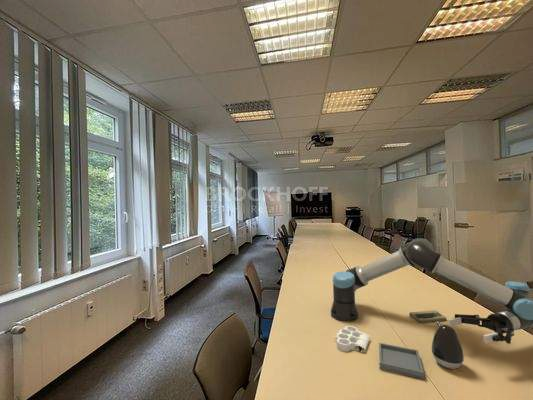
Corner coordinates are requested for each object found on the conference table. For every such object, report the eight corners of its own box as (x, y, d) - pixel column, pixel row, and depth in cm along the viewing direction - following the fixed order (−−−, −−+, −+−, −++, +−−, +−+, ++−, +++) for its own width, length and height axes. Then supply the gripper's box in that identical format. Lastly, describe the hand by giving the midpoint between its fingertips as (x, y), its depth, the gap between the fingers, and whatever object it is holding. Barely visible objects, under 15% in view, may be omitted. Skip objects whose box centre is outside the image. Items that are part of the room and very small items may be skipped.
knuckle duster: (363, 358, 102) (329, 347, 110) (371, 338, 117) (340, 329, 125) (363, 350, 102) (328, 340, 110) (371, 330, 117) (340, 323, 125)
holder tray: (379, 369, 95) (379, 362, 95) (379, 348, 108) (379, 342, 108) (424, 379, 89) (424, 372, 89) (418, 356, 102) (417, 350, 102)
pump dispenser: (449, 355, 102) (448, 318, 102) (471, 372, 92) (470, 331, 92) (425, 356, 102) (424, 319, 102) (444, 373, 91) (443, 332, 92)
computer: (419, 324, 129) (419, 317, 129) (409, 317, 137) (408, 311, 137) (447, 322, 131) (446, 315, 131) (435, 315, 139) (434, 309, 139)
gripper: (542, 347, 93) (503, 358, 87) (471, 318, 117) (437, 325, 111) (541, 327, 93) (502, 337, 88) (471, 302, 117) (436, 308, 111)
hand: (465, 330), depth 99 cm, fingers open, 13 cm apart
